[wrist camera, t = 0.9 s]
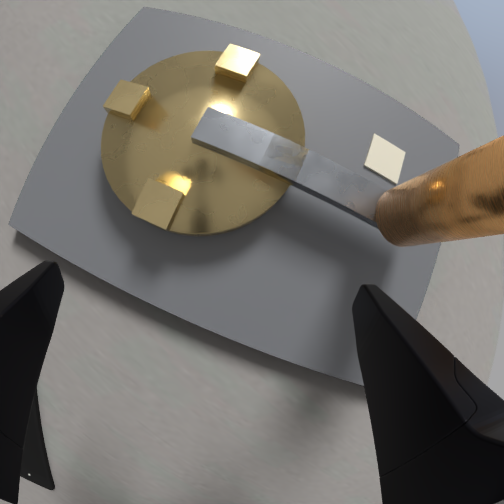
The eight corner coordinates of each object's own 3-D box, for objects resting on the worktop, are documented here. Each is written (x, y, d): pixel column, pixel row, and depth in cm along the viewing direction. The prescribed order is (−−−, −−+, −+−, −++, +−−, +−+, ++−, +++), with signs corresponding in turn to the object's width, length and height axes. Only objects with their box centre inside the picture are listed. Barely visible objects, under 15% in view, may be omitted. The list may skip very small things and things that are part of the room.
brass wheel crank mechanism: (79, 191, 20) (-66, 106, 5) (167, 48, 21) (140, -97, 6) (369, 319, 21) (536, 371, 6) (419, 160, 23) (552, 88, 8)
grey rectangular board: (17, 226, 21) (6, 224, 19) (146, 16, 23) (143, 5, 21) (376, 386, 23) (385, 392, 21) (450, 149, 25) (460, 144, 23)
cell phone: (36, 339, 21) (30, 341, 20) (57, 487, 20) (53, 492, 19) (-25, 316, 20) (-31, 317, 19) (-2, 458, 19) (-6, 462, 18)
